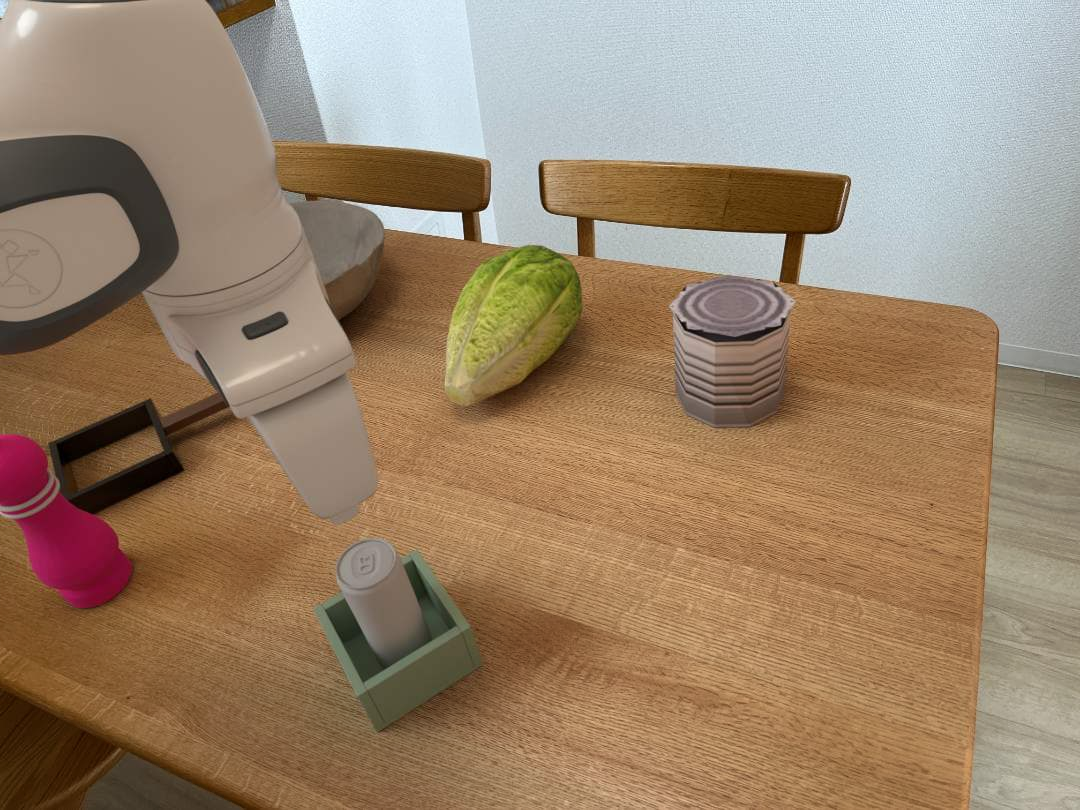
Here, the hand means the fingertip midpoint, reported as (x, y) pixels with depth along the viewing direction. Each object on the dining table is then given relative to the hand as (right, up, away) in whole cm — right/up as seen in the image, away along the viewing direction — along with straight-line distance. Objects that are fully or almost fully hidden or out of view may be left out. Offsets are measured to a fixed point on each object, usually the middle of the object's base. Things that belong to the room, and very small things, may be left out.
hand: (317, 471), depth 53 cm
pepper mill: (-28, -13, +25) cm, 40 cm away
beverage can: (+4, -16, +14) cm, 22 cm away
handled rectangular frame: (-29, -1, +39) cm, 48 cm away
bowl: (-18, +17, +57) cm, 63 cm away
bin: (+4, -16, +14) cm, 22 cm away
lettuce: (+12, +9, +42) cm, 44 cm away
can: (+35, +5, +33) cm, 48 cm away
